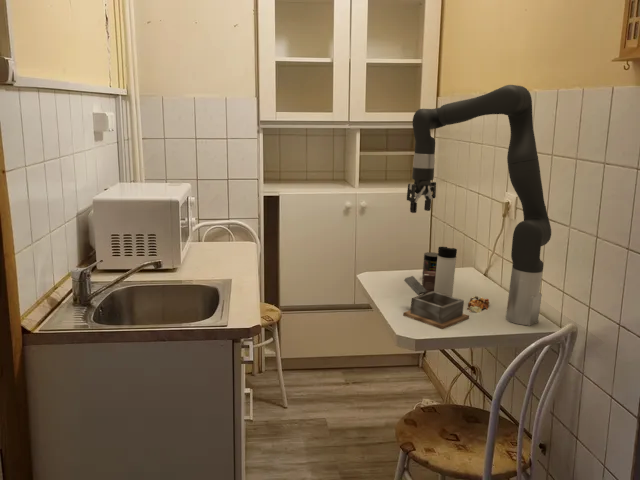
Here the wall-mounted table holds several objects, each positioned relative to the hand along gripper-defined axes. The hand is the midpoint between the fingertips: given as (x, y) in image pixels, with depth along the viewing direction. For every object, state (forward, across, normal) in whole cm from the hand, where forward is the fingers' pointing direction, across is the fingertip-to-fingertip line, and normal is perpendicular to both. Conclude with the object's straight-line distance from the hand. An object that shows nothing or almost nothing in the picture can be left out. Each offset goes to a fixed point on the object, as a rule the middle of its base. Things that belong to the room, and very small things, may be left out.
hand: (420, 211), depth 214 cm
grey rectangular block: (+21, -19, -13) cm, 32 cm away
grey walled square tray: (+29, -19, -22) cm, 41 cm away
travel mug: (+29, -5, -15) cm, 34 cm away
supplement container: (+29, +14, +3) cm, 32 cm away
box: (+29, +1, -6) cm, 30 cm away
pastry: (+30, +1, -26) cm, 40 cm away
